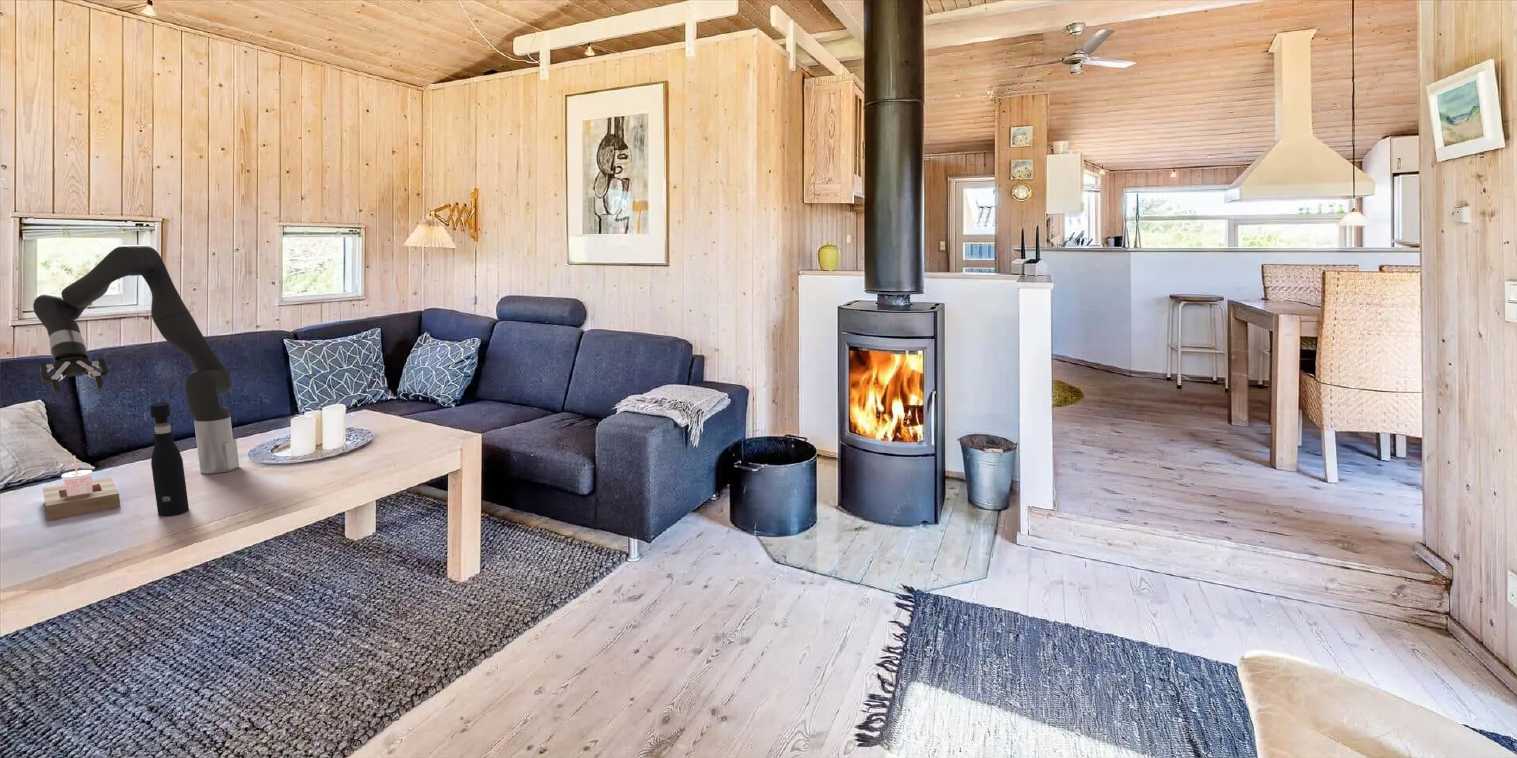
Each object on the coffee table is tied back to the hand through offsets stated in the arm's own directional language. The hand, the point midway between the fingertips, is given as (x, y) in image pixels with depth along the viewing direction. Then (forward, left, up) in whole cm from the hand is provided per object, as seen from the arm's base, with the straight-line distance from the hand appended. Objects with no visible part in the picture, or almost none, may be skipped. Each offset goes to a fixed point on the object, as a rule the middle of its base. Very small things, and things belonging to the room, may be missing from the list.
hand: (79, 390), depth 203 cm
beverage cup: (-11, +21, -29) cm, 37 cm away
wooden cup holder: (-11, +21, -29) cm, 37 cm away
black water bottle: (-39, +31, -29) cm, 58 cm away
